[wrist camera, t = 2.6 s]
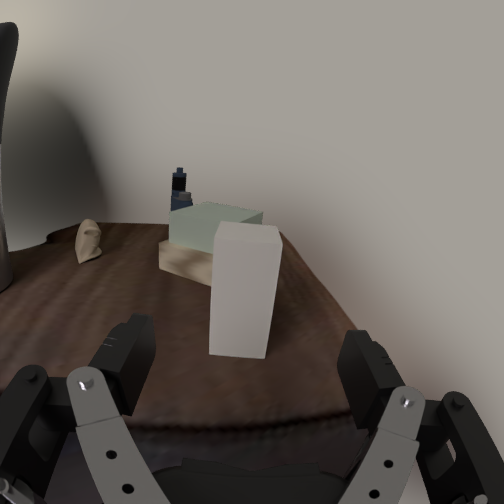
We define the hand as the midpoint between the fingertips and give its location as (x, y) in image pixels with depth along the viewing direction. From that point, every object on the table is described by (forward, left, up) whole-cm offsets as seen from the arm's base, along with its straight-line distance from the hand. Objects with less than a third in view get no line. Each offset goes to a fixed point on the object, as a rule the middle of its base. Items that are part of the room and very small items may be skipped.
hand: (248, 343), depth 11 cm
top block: (-15, +23, -5) cm, 28 cm away
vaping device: (-26, +29, -9) cm, 40 cm away
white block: (-5, +10, -9) cm, 14 cm away
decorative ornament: (-32, +14, -9) cm, 36 cm away
